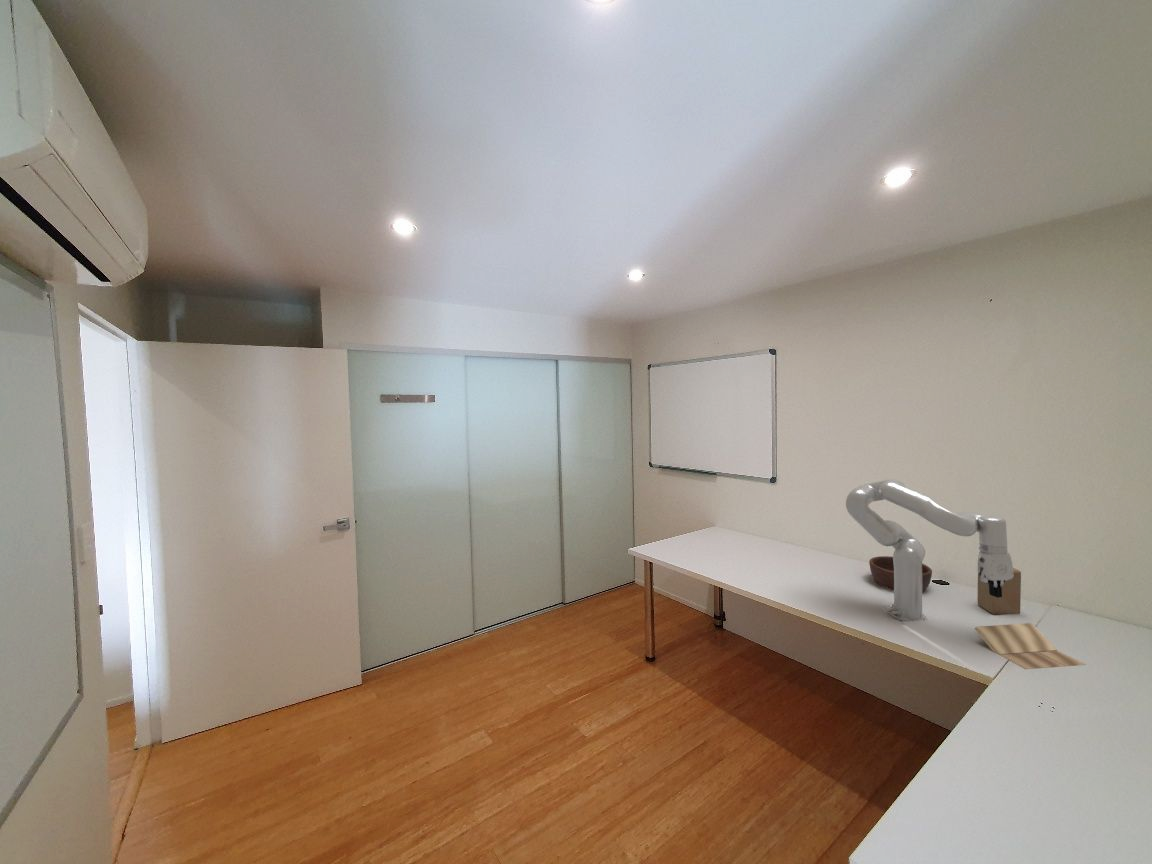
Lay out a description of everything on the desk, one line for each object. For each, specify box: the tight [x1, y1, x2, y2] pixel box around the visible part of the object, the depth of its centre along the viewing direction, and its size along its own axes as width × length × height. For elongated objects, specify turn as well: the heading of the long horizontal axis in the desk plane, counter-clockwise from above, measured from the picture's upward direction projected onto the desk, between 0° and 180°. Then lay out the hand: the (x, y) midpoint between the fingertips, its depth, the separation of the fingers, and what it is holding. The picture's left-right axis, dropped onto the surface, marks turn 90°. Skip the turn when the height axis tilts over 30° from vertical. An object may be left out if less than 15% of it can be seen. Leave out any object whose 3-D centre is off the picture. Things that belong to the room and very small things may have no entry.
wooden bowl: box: [868, 555, 933, 592], centre depth 209 cm, size 25×25×10 cm
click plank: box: [974, 622, 1058, 656], centre depth 153 cm, size 22×10×1 cm
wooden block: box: [977, 567, 1022, 616], centre depth 180 cm, size 10×10×20 cm
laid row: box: [1000, 650, 1087, 670], centre depth 144 cm, size 22×8×1 cm, turn 93°
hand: (995, 595), depth 158 cm, fingers closed
